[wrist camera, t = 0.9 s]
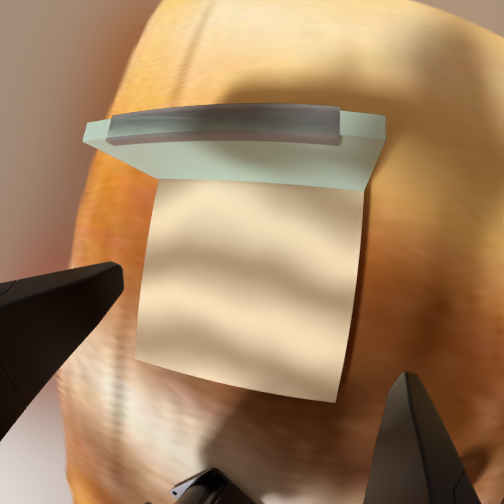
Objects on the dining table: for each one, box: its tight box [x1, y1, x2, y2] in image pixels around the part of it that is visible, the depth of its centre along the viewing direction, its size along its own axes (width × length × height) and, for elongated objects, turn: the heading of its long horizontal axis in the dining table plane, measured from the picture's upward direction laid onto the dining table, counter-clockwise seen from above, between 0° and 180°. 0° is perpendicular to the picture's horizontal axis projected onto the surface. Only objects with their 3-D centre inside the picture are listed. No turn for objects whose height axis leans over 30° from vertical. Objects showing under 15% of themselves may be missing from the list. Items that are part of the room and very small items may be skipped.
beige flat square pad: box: [135, 179, 364, 403], centre depth 23 cm, size 16×16×2 cm
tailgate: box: [83, 103, 386, 192], centre depth 18 cm, size 2×16×9 cm, turn 82°
